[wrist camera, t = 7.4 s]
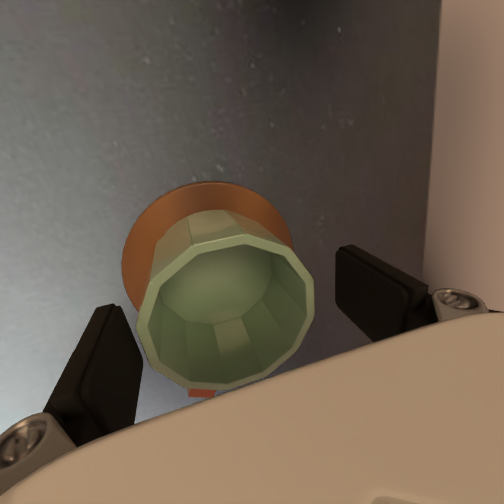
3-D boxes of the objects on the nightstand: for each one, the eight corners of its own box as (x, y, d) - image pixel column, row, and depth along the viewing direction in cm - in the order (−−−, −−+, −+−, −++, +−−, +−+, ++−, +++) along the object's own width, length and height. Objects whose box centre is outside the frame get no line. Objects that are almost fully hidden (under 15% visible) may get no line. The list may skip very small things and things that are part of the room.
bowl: (172, 189, 13) (172, 209, 8) (292, 232, 15) (341, 264, 11) (131, 322, 14) (112, 398, 10) (244, 339, 17) (270, 404, 13)
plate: (265, 155, 14) (270, 155, 13) (303, 295, 18) (308, 300, 18) (84, 221, 13) (80, 224, 12) (171, 356, 17) (171, 364, 16)
